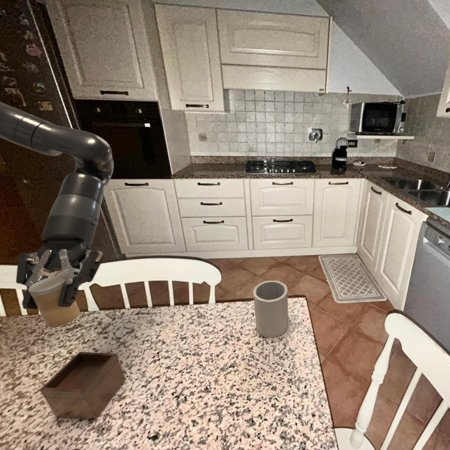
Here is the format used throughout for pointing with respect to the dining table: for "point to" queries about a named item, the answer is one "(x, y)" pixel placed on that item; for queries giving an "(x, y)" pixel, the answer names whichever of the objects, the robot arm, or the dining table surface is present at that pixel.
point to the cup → (271, 308)
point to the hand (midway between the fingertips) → (47, 307)
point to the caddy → (84, 385)
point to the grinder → (52, 301)
